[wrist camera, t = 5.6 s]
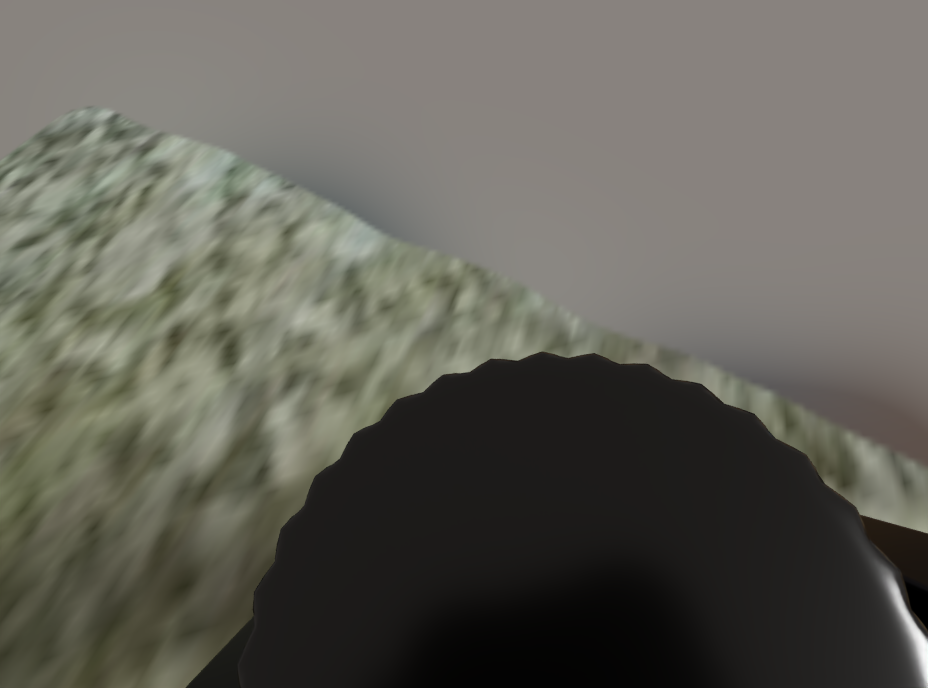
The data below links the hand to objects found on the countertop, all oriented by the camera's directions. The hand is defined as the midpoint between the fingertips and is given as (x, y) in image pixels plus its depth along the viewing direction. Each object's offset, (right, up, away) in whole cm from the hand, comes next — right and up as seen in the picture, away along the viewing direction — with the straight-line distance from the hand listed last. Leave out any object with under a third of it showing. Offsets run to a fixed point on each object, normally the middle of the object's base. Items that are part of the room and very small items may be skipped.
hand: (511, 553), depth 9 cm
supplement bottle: (+1, -5, +5) cm, 7 cm away
